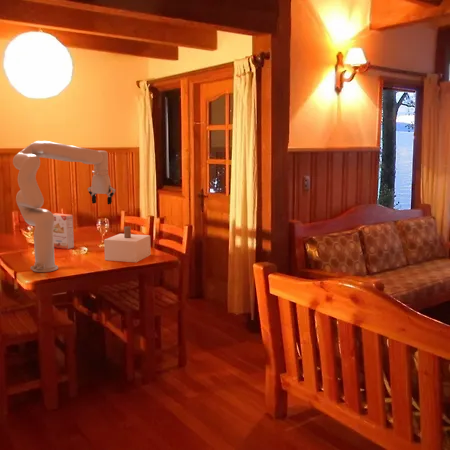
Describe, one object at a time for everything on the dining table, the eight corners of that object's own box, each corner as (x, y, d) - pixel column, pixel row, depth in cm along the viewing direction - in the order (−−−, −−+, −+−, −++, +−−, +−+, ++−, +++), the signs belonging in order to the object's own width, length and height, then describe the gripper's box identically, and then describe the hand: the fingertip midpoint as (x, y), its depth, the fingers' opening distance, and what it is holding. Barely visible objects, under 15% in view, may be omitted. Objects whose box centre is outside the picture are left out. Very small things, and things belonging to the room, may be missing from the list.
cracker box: (50, 247, 325) (48, 214, 322) (57, 245, 331) (56, 212, 327) (67, 249, 319) (65, 215, 315) (74, 247, 324) (73, 214, 321)
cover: (136, 262, 287) (135, 230, 284) (104, 260, 292) (103, 229, 289) (150, 254, 305) (149, 225, 302) (120, 252, 311) (119, 223, 308)
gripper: (83, 172, 291) (84, 203, 293) (111, 173, 285) (112, 205, 288) (91, 172, 298) (91, 202, 300) (118, 173, 292) (118, 203, 295)
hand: (101, 203), depth 294 cm, fingers open, 9 cm apart
